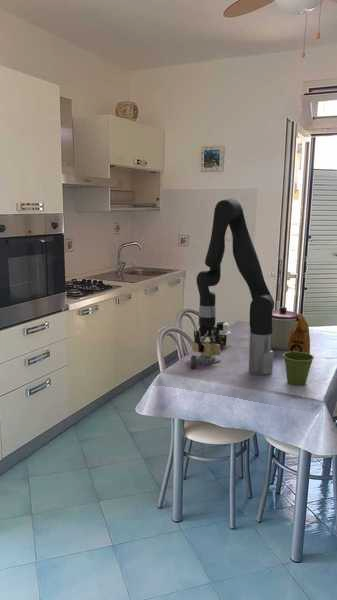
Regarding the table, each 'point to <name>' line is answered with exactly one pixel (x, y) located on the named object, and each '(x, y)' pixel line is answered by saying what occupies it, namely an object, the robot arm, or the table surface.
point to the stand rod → (193, 362)
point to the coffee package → (299, 336)
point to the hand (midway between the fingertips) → (206, 350)
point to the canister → (282, 327)
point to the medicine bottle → (223, 335)
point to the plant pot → (297, 367)
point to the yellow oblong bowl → (208, 348)
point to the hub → (207, 358)
